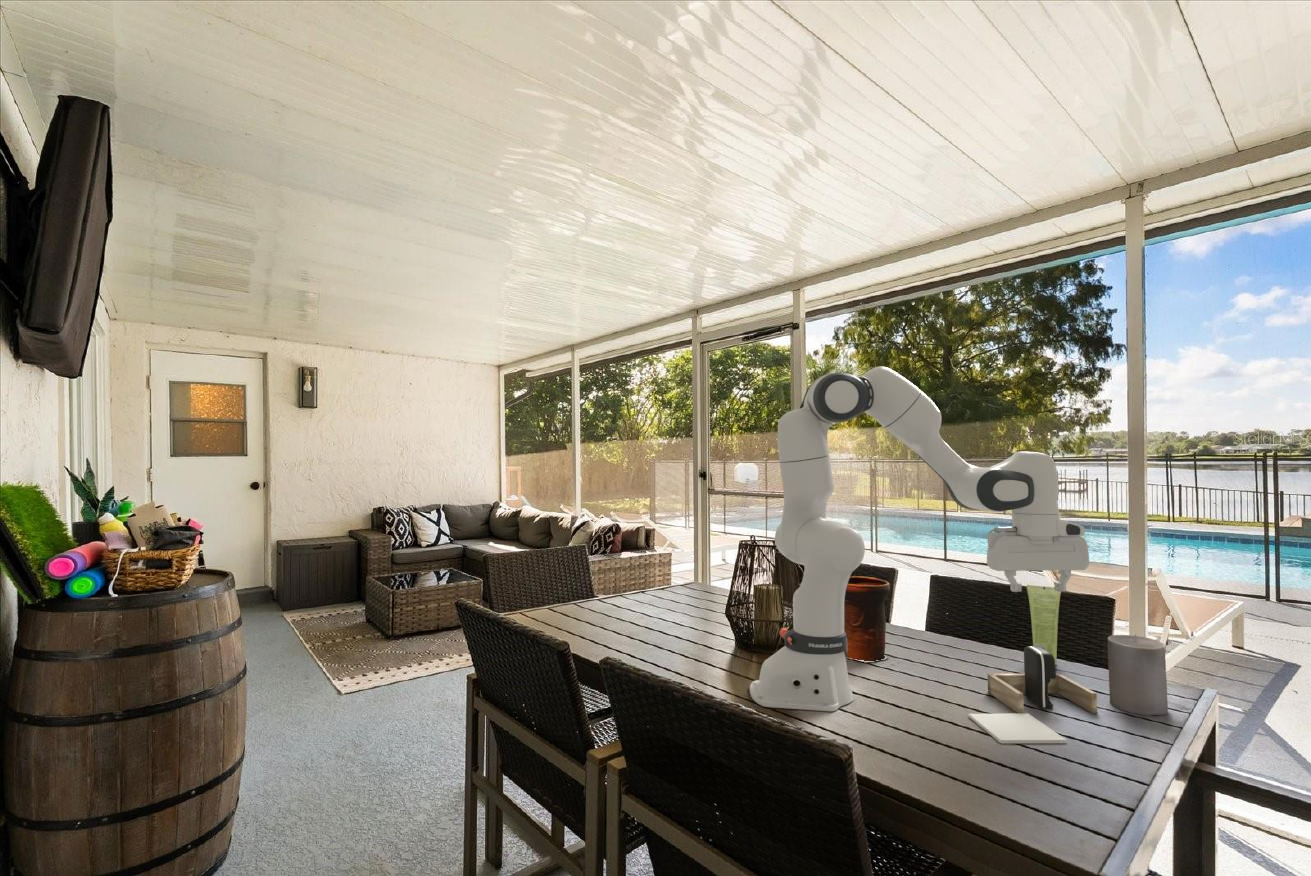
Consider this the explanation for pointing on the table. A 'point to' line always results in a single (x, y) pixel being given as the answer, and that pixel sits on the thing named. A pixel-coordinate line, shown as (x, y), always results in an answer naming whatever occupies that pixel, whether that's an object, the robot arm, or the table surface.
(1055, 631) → the tube
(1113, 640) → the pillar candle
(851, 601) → the vessel
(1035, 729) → the mat
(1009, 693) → the bay
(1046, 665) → the battery charger
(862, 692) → the table surface
